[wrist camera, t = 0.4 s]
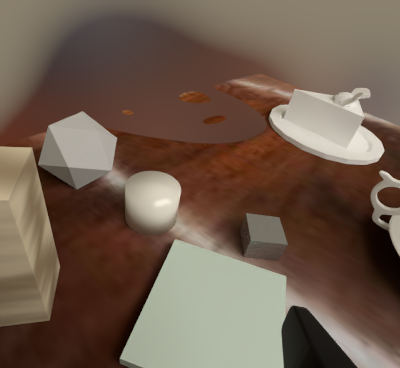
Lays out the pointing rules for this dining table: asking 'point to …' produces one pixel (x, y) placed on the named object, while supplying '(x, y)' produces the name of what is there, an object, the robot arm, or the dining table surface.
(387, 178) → the candlestick
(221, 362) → the tile
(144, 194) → the cream marshmallow cylinder
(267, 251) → the grey block
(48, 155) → the die
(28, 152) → the maple block
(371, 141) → the dish
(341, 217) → the dining table surface
